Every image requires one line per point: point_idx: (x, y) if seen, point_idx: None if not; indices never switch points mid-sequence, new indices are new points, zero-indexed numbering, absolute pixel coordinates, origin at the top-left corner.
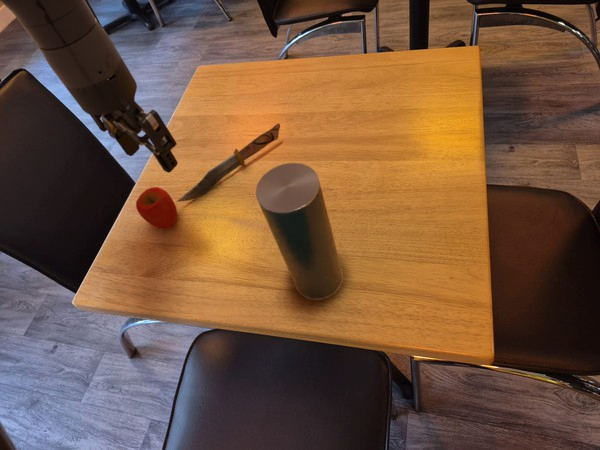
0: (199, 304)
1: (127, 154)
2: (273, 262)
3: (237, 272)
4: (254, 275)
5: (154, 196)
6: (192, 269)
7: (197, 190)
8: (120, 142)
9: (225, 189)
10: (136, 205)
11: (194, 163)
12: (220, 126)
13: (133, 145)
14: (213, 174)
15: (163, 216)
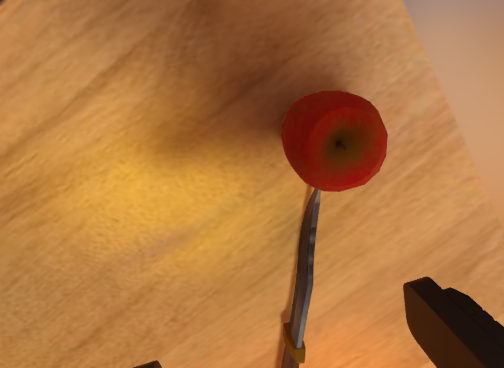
0: (21, 48)
1: (423, 281)
2: (11, 237)
3: (43, 167)
4: (7, 190)
5: (345, 159)
6: (133, 93)
7: (306, 230)
8: (473, 354)
9: (271, 265)
10: (364, 104)
11: (393, 254)
12: None
13: (427, 339)
14: (303, 283)
15: (284, 136)
